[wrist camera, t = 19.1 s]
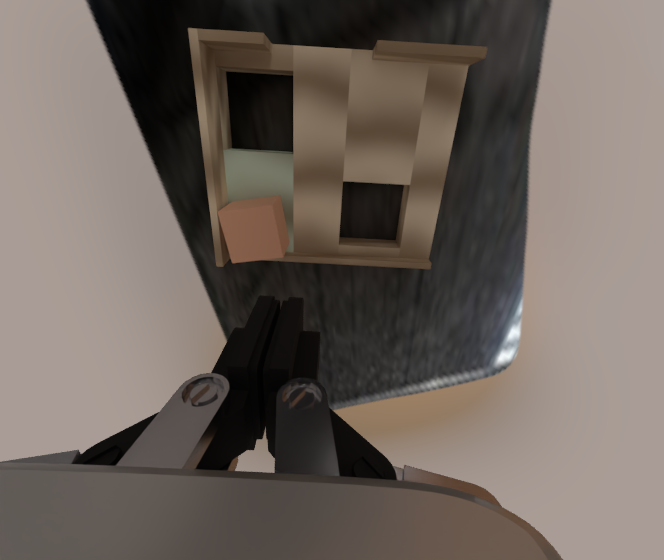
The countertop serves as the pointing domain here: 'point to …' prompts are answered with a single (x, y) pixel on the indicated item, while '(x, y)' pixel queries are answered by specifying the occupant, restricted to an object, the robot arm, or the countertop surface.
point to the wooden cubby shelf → (336, 138)
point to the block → (255, 229)
